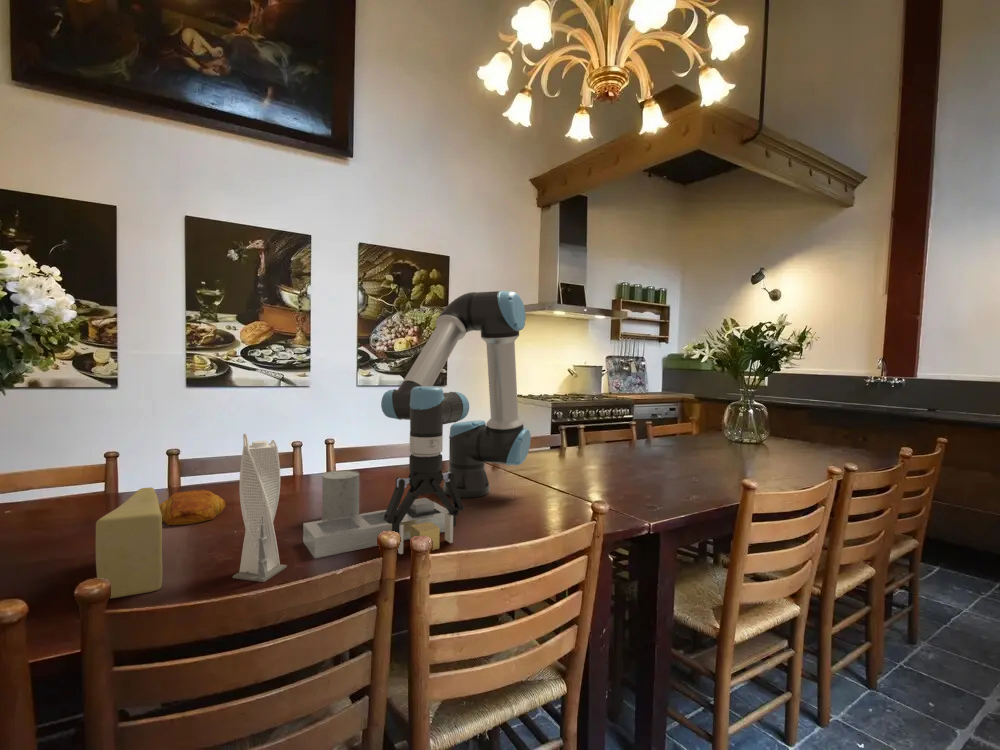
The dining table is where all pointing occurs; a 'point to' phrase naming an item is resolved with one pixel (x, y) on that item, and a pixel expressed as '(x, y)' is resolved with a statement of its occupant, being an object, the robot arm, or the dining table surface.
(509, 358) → the robot arm
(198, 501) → the croissant
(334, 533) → the tray
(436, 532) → the tan foam cube
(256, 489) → the skyscraper
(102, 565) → the cheese
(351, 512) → the grey flat-topped mottled cylinder
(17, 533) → the dining table surface
